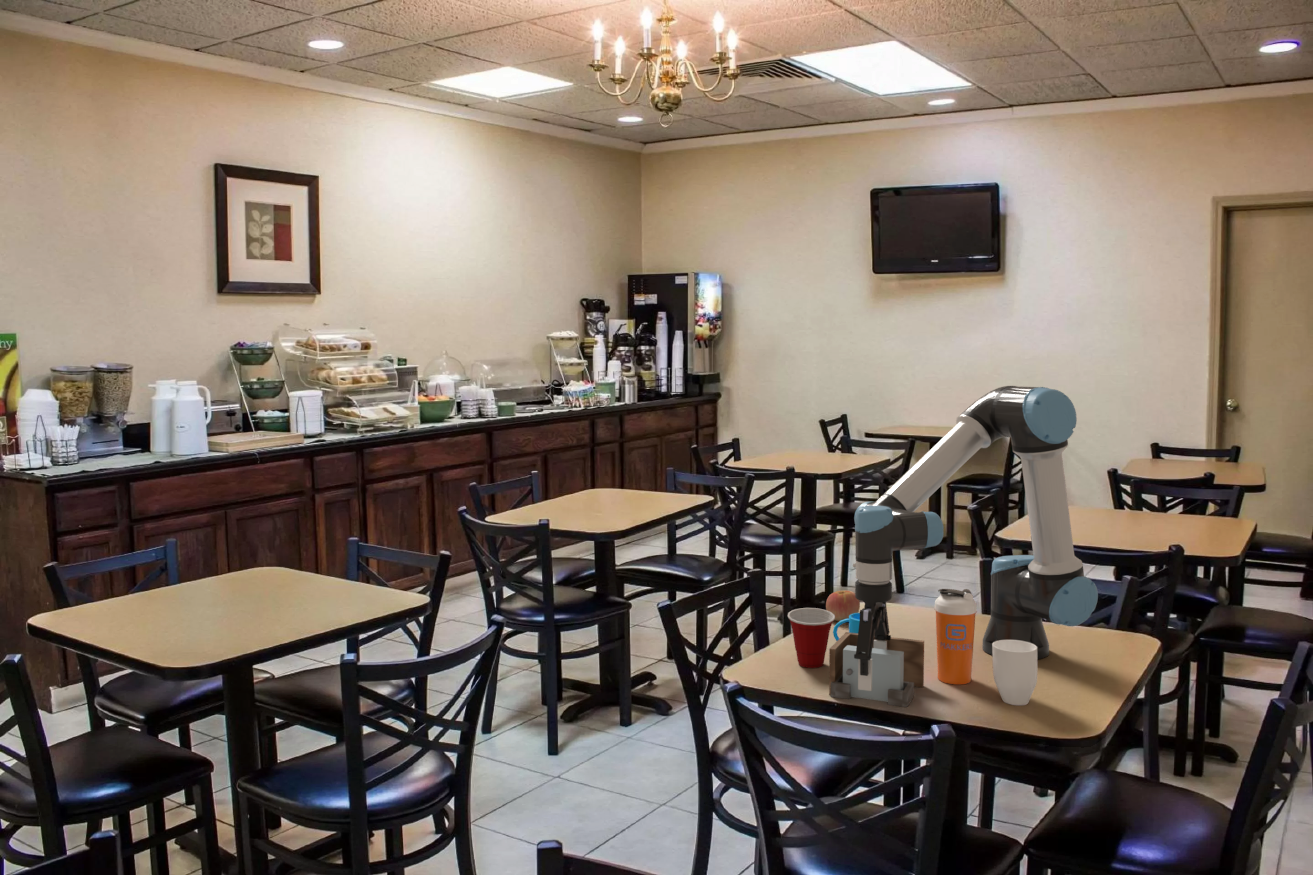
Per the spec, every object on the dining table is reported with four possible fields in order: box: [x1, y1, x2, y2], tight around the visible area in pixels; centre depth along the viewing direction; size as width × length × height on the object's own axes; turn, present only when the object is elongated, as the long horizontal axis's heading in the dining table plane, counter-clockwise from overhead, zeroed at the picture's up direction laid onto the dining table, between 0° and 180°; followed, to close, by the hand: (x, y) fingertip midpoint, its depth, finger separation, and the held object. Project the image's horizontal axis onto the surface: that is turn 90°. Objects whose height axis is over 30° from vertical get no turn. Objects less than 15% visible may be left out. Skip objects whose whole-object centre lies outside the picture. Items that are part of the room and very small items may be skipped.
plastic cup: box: [787, 607, 835, 669], centre depth 244 cm, size 11×11×12 cm
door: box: [843, 645, 904, 703], centre depth 222 cm, size 12×4×10 cm, turn 65°
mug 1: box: [832, 612, 866, 642], centre depth 256 cm, size 12×8×8 cm
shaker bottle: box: [934, 588, 978, 685], centre depth 232 cm, size 9×9×20 cm
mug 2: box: [991, 640, 1038, 706], centre depth 220 cm, size 12×9×12 cm
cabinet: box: [828, 631, 925, 708], centre depth 225 cm, size 17×15×10 cm
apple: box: [825, 590, 861, 622], centre depth 281 cm, size 9×9×8 cm
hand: (872, 679), depth 222 cm, fingers open, 13 cm apart
